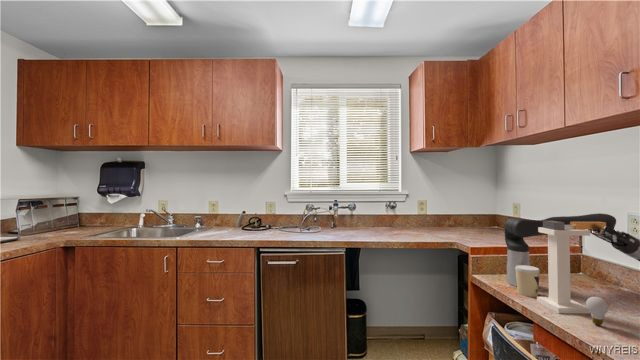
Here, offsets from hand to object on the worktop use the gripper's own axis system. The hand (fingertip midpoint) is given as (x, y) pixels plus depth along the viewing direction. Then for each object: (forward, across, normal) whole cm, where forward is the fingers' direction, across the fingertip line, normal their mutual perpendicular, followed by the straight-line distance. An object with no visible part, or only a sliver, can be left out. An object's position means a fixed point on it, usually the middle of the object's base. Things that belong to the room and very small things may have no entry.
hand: (595, 226), depth 123 cm
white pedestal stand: (-6, 0, +35) cm, 36 cm away
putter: (+6, 0, +5) cm, 8 cm away
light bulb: (-5, +16, +36) cm, 39 cm away
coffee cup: (-1, -15, +38) cm, 41 cm away
